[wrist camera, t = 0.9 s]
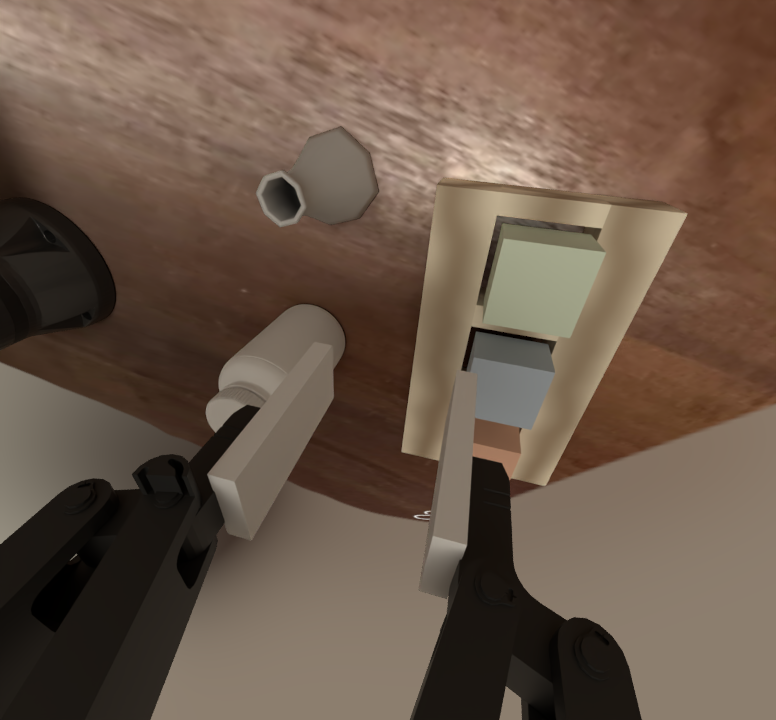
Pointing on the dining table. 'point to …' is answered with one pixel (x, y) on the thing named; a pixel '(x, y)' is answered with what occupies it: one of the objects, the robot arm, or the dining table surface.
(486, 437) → the button terracotta
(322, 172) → the flask
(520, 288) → the button sage
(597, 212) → the panel
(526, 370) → the button slate
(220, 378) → the pill bottle
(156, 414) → the dining table surface
